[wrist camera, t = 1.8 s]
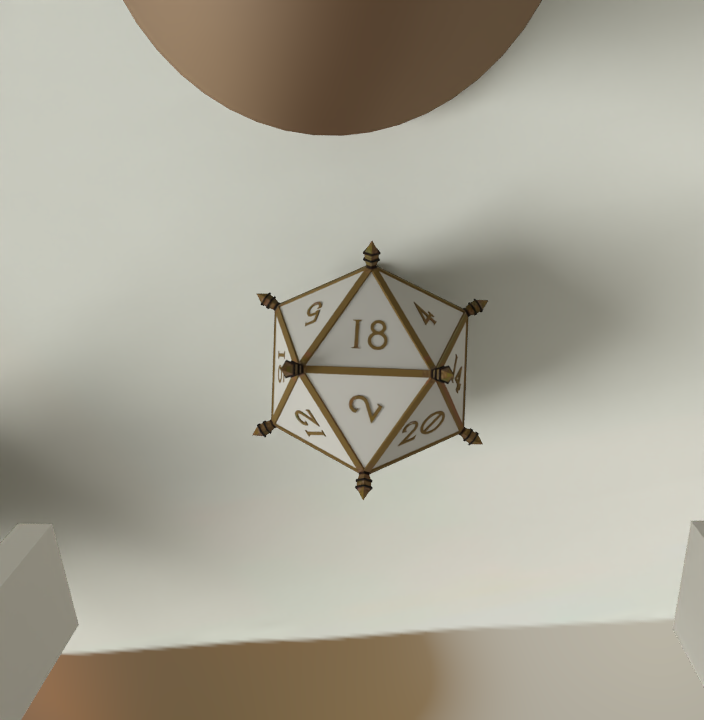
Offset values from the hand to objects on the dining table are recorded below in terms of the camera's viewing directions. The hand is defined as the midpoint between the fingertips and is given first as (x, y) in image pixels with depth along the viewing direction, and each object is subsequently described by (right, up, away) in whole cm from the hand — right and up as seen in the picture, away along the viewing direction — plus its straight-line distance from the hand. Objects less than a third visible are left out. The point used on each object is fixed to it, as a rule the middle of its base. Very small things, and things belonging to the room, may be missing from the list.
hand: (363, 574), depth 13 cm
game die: (+1, +6, +14) cm, 15 cm away
